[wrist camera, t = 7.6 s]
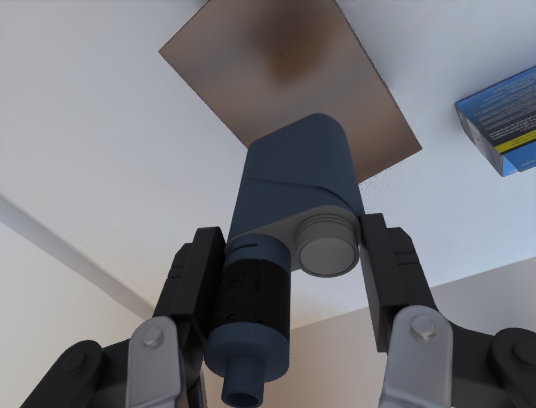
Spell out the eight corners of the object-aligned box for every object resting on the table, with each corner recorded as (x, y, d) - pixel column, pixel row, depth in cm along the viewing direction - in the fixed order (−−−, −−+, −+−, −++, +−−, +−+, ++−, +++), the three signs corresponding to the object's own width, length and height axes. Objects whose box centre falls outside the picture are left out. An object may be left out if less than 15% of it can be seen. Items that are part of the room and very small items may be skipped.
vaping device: (237, 145, 18) (170, 385, 8) (333, 100, 16) (385, 344, 7) (261, 182, 19) (227, 425, 10) (352, 144, 17) (417, 399, 8)
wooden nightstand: (198, 16, 30) (157, 51, 21) (290, -77, 26) (286, -79, 17) (304, 146, 37) (305, 212, 29) (389, 91, 33) (422, 149, 24)
